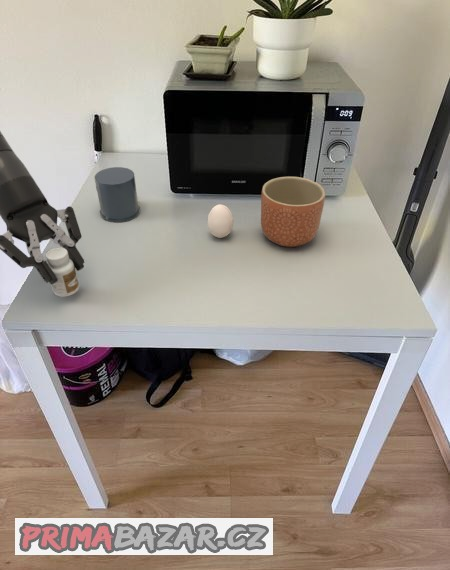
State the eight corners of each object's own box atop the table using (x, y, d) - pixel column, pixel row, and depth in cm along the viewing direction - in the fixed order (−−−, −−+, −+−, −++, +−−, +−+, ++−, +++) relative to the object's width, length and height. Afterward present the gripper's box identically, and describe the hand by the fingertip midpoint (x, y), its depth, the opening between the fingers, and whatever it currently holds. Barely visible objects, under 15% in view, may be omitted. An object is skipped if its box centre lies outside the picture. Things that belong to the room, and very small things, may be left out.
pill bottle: (75, 297, 76) (66, 261, 71) (49, 297, 76) (38, 260, 71) (82, 281, 79) (73, 245, 74) (57, 281, 79) (47, 245, 74)
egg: (236, 240, 92) (237, 209, 87) (212, 245, 91) (212, 214, 86) (227, 227, 96) (227, 197, 91) (204, 232, 94) (203, 201, 90)
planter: (321, 255, 88) (330, 206, 81) (259, 253, 88) (263, 205, 81) (313, 222, 98) (320, 176, 91) (257, 221, 98) (260, 175, 91)
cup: (104, 226, 96) (97, 188, 90) (96, 206, 102) (89, 170, 97) (145, 217, 99) (140, 180, 93) (134, 199, 105) (129, 163, 99)
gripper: (-32, 192, 65) (33, 290, 66) (54, 162, 73) (110, 250, 75) (-36, 211, 71) (24, 301, 72) (44, 182, 79) (96, 263, 81)
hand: (68, 275), depth 74 cm, fingers closed on pill bottle, 4 cm apart
